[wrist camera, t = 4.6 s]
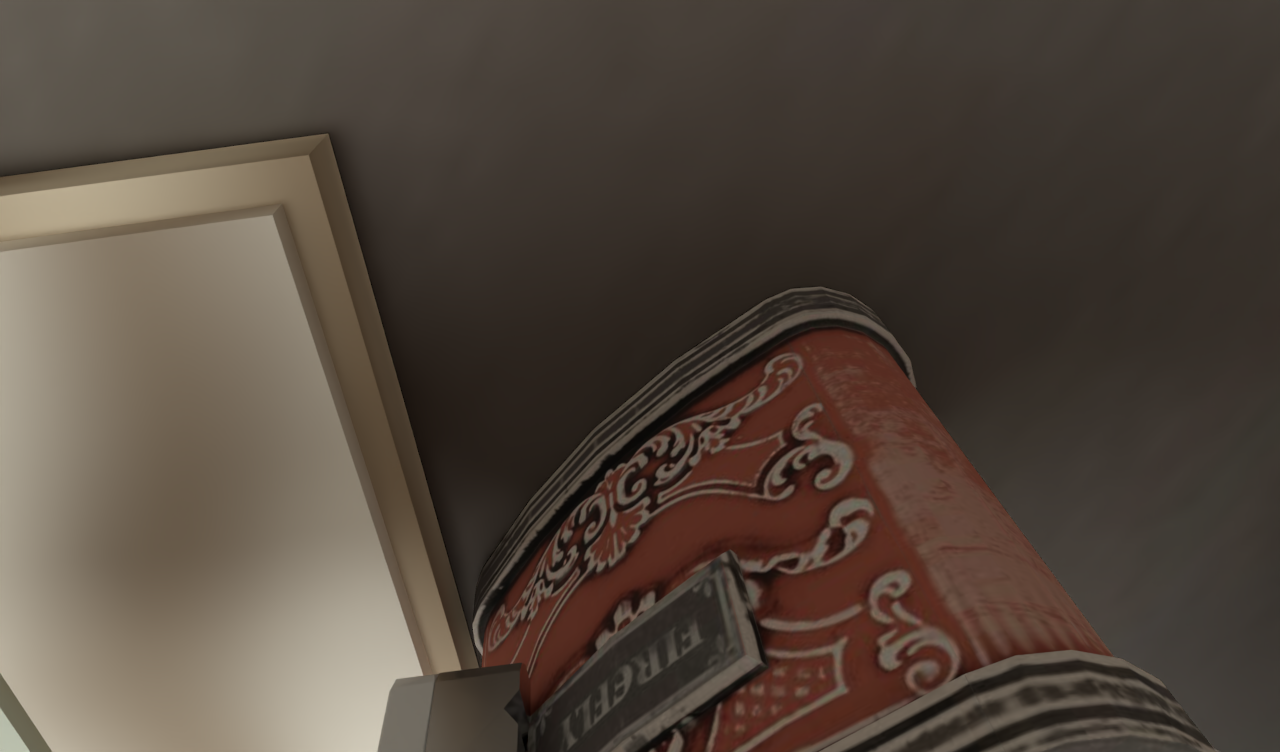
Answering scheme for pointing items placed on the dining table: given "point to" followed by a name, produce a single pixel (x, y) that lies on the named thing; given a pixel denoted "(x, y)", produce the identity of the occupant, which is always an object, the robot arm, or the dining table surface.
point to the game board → (205, 465)
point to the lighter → (797, 571)
